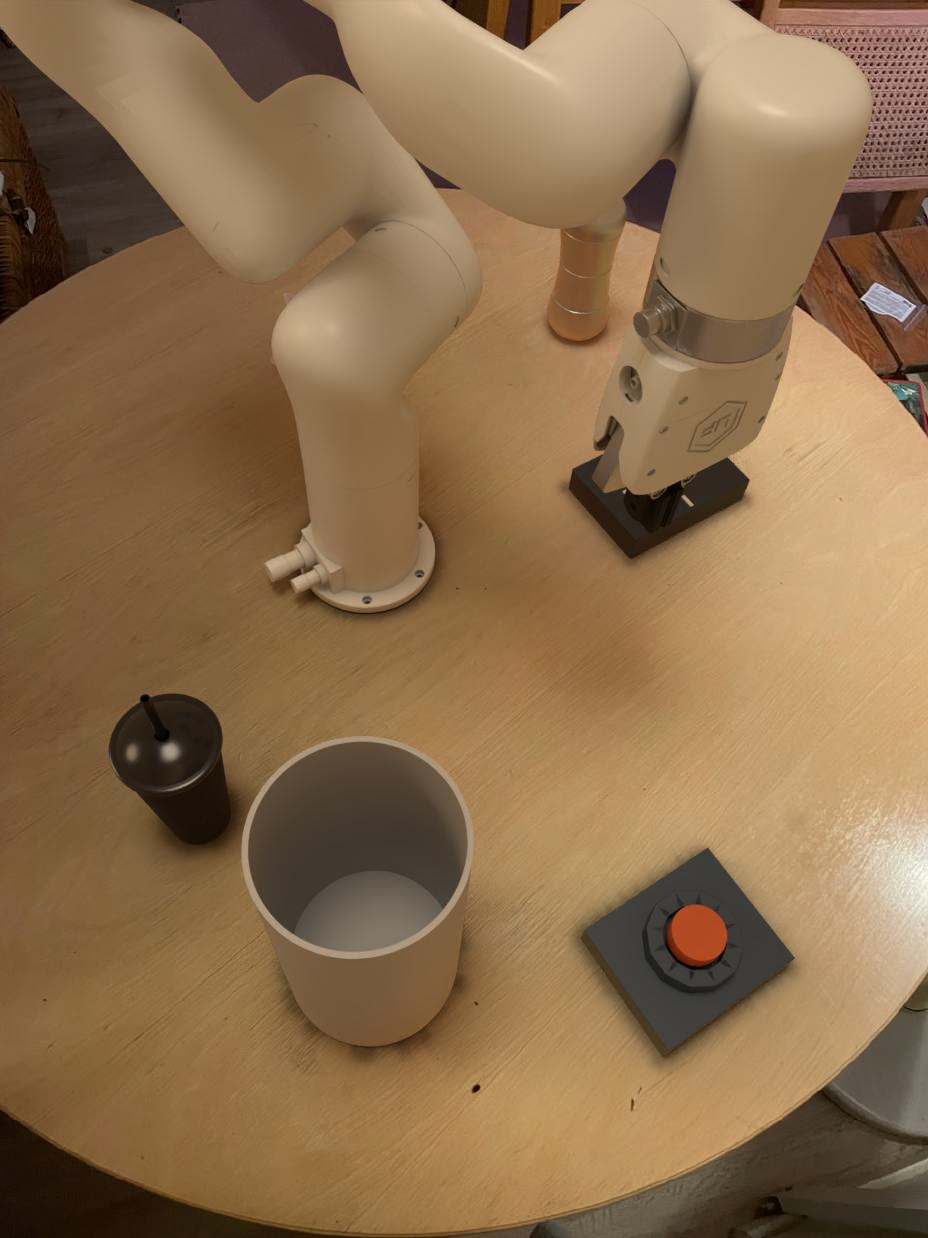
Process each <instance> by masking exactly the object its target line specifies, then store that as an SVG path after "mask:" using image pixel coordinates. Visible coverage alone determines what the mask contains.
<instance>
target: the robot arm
mask: <svg viewBox="0 0 928 1238" xmlns="http://www.w3.org/2000/svg"><path fill="white" fill-rule="evenodd" d="M302 1H303V2H305V3H306V4H309V5H310V6H312V7H313V8H315V9H317V10H318V11H320V12H321V13H322V14H324V15H326V16H327V17H329V18H330V20H332V21H333V22H334V25H335V28H336V31H337V35H338V38H339V42H340V45H341V49H342V51H343V55H344V58H345V61H346V63H347V65H348V67H349V69H350V71H351V74H352V76H353V78H354V80H355V82H356V84H357V85H358V88H359V89H360V91H359V90H358V89H356V88H355V87H354V86H352V85H351V84H349V83H348V82H346V81H344V80H341V79H339V78H337V77H334V76H331V75H326V74H308V75H303V76H300V77H297V78H295V79H293V80H291V81H288V82H287V83H285V84H284V85H282V86H281V87H279V88H278V89H276V90H275V91H274V92H273V93H270V95H268V96H267V97H265V98H264V99H263V100H261V101H259V102H257V101H255V100H254V99H252V98H251V97H250V96H249V95H248V94H247V93H246V92H245V91H244V89H242V87H241V86H240V85H239V84H238V82H237V81H236V80H235V79H234V77H232V75H231V74H230V73H229V70H228V69H227V68H226V67H225V66H224V64H223V63H222V61H221V60H220V58H219V57H218V55H217V54H216V53H215V52H214V51H213V49H212V48H211V47H210V46H209V45H208V44H207V43H206V42H205V41H204V40H203V39H202V38H201V37H200V36H198V35H197V34H195V33H194V32H192V31H191V30H190V29H188V28H187V27H186V26H184V25H183V24H181V23H180V22H177V21H176V20H174V19H173V18H172V17H170V16H168V15H166V14H164V13H163V12H160V11H159V10H156V9H154V8H151V7H149V6H146V5H144V4H141V3H138V2H135V1H133V0H0V28H1V30H3V32H4V33H5V35H7V38H9V40H10V41H11V42H12V43H13V44H14V45H15V46H16V47H17V48H18V50H19V51H20V52H21V53H23V55H24V56H25V57H26V58H27V59H28V60H29V61H30V62H31V63H32V64H33V65H35V66H36V67H37V68H38V69H39V70H40V71H41V73H43V75H45V76H47V78H49V79H50V80H51V81H52V82H54V84H55V85H57V86H58V87H60V89H61V90H63V91H64V92H66V94H68V95H69V96H70V97H71V98H72V99H74V100H75V101H76V102H77V103H78V104H79V105H80V106H81V107H83V108H84V109H85V110H86V111H87V112H88V113H89V114H90V115H91V116H93V118H94V119H95V120H97V121H98V122H99V123H100V124H101V126H103V128H105V130H106V131H107V132H108V133H109V134H110V135H111V136H112V138H113V139H115V141H116V142H117V143H118V145H119V146H120V147H121V149H122V150H123V151H124V153H126V155H127V156H128V158H129V159H130V160H131V161H132V162H133V164H134V165H135V166H136V167H137V169H138V170H139V171H140V172H141V174H142V175H143V176H144V178H145V179H146V180H147V181H148V182H149V183H150V185H151V186H152V187H153V189H154V190H155V191H156V192H157V194H159V196H160V197H161V198H162V200H163V201H164V202H165V203H166V205H168V207H169V208H170V209H171V211H172V212H173V213H174V214H175V215H176V217H177V218H178V219H179V220H180V221H181V223H182V224H183V225H184V227H186V229H187V230H188V231H189V232H190V234H191V236H193V237H194V239H195V240H196V241H197V242H198V243H199V244H200V246H201V247H202V248H203V249H204V250H205V251H206V253H207V254H208V255H209V256H210V257H211V258H212V259H213V260H214V261H215V263H216V264H218V266H219V267H221V269H223V270H224V271H225V272H226V273H228V274H229V276H232V277H233V278H235V280H236V279H237V280H238V281H240V282H242V283H246V284H251V285H259V284H264V283H268V282H270V281H273V280H275V279H277V278H279V277H280V276H282V275H284V274H286V273H287V272H289V271H290V270H291V269H293V268H294V267H296V266H297V265H298V264H300V262H302V261H303V260H304V259H305V258H306V257H308V256H309V255H310V254H311V253H313V252H314V251H315V250H316V249H317V248H319V247H320V246H321V245H322V244H323V243H324V242H326V241H327V240H328V239H330V238H331V237H332V236H333V235H334V234H335V233H337V231H339V230H340V229H341V228H343V229H344V230H345V231H346V233H347V234H348V235H349V236H350V237H351V238H352V239H353V241H354V243H353V244H352V245H351V246H349V247H348V248H347V249H346V250H345V251H344V252H343V253H341V254H339V255H338V256H336V257H335V258H334V259H333V260H332V261H331V262H330V263H328V265H326V266H325V267H324V268H323V269H321V270H320V271H319V272H318V273H317V274H316V275H315V276H314V277H312V278H311V279H310V280H309V281H308V282H307V283H305V285H304V286H303V287H302V288H301V289H300V290H299V291H297V292H296V293H295V296H294V297H293V298H292V299H291V300H290V302H289V303H288V304H287V305H285V307H284V308H283V309H282V311H281V313H280V314H279V316H278V318H277V320H276V321H275V324H274V326H273V330H272V335H271V342H270V347H271V353H272V355H273V358H274V362H275V364H276V365H275V366H276V369H277V372H278V374H279V377H280V379H281V381H282V384H283V386H284V388H285V390H286V394H287V396H288V398H289V401H290V404H291V408H292V411H293V415H294V419H295V425H296V431H297V437H298V442H299V444H298V445H299V448H300V450H299V451H300V455H301V462H302V469H303V476H304V482H305V489H306V491H305V492H306V495H307V496H306V497H307V503H308V511H309V519H310V522H309V524H308V525H307V526H306V527H304V528H302V529H301V538H300V540H299V543H297V544H294V545H293V550H291V551H288V552H286V553H284V554H279V555H278V556H275V557H274V558H271V559H269V560H267V561H265V562H263V567H264V570H265V572H266V575H267V576H268V578H269V580H270V581H271V582H272V583H275V582H278V581H280V580H282V579H284V578H286V577H288V576H290V575H292V574H293V573H294V572H296V571H298V570H300V572H301V574H300V575H298V576H296V577H294V578H291V579H290V580H289V582H290V585H291V588H292V589H293V591H294V592H295V594H297V595H298V594H300V593H303V592H304V591H306V590H309V589H310V590H311V591H312V592H313V593H314V594H315V595H316V596H317V597H318V598H319V599H320V600H321V601H323V602H325V603H327V604H329V605H330V606H332V607H335V608H338V609H340V610H343V611H348V612H353V613H359V614H360V613H361V614H362V613H366V614H368V613H369V614H371V613H378V612H384V611H385V612H386V611H388V610H391V609H395V608H397V607H399V606H401V605H403V604H406V603H407V602H409V601H410V600H412V599H413V598H414V597H416V596H417V595H418V594H419V593H420V592H421V591H422V590H423V589H424V587H426V585H427V583H428V582H429V580H430V579H431V576H432V574H433V571H434V568H435V563H436V543H435V540H434V537H433V534H432V531H431V530H430V528H429V526H428V524H427V523H426V522H425V520H423V518H422V517H421V516H420V515H419V514H420V513H419V512H420V511H419V509H420V508H419V504H420V503H419V494H420V493H419V492H420V491H419V490H420V489H419V488H420V487H419V486H420V485H419V484H420V483H419V482H420V481H419V480H420V479H419V477H420V475H419V474H420V471H419V470H420V468H419V467H420V431H419V430H420V429H419V420H418V416H417V413H416V410H415V407H414V406H413V404H412V402H411V401H410V400H409V399H408V398H407V397H406V396H405V395H404V394H403V392H404V390H405V389H406V386H407V385H408V383H409V382H410V380H411V379H412V378H413V376H414V375H415V374H416V373H417V372H418V371H419V370H420V369H421V368H422V367H423V366H424V365H425V363H427V362H428V361H429V359H430V358H431V356H432V355H434V353H435V352H436V351H437V350H438V349H439V348H440V347H441V346H442V345H443V344H444V343H445V342H446V341H447V340H448V339H449V338H450V337H451V336H452V335H453V334H454V333H455V331H457V330H458V328H460V327H461V326H462V325H463V323H465V322H466V321H467V319H468V318H469V317H470V315H471V314H472V313H473V312H474V311H475V308H476V307H477V305H478V303H479V301H480V298H481V297H482V292H483V286H484V285H483V284H484V277H483V270H482V266H481V262H480V259H479V256H478V254H477V251H476V249H475V247H474V244H473V243H472V241H471V239H470V238H469V236H468V234H467V233H466V231H465V229H464V228H463V227H462V225H461V224H460V222H459V220H458V219H457V218H456V216H455V215H454V213H453V211H452V210H451V208H450V207H449V206H448V204H447V203H446V201H445V200H444V198H442V196H441V194H440V193H439V191H438V190H437V189H436V187H435V186H434V185H433V182H431V180H430V179H429V177H428V176H427V175H426V173H425V171H424V170H423V168H422V167H421V166H420V164H422V165H423V166H424V167H426V168H427V169H428V170H430V171H432V172H434V173H435V174H437V175H438V176H440V177H442V178H443V179H444V180H447V181H448V182H450V183H451V184H452V185H454V186H456V187H457V188H459V189H461V190H462V191H464V192H465V193H467V194H468V195H469V196H472V197H473V198H475V199H477V200H478V201H479V202H482V203H483V204H485V205H488V207H490V208H492V209H494V210H497V211H499V212H500V213H503V214H504V215H506V216H507V217H512V218H513V219H516V220H518V221H520V222H523V223H525V224H529V225H532V226H536V227H540V228H545V229H552V230H556V229H557V230H560V229H565V228H574V227H578V226H581V225H584V224H587V223H590V222H592V221H594V220H596V219H598V218H599V217H601V216H602V215H604V214H605V213H607V212H608V211H609V210H610V209H611V208H613V207H614V206H615V205H616V204H617V203H618V202H619V201H620V200H621V199H622V198H623V199H624V197H625V196H626V195H627V194H628V193H629V192H630V191H631V190H633V188H634V187H635V186H636V185H637V184H638V183H639V182H640V180H642V178H644V176H645V175H647V173H648V172H649V171H650V170H651V169H652V168H653V167H654V166H655V165H656V164H657V163H658V162H659V161H661V160H670V161H671V162H672V163H673V164H674V168H675V170H676V171H675V175H674V178H673V182H672V187H671V190H670V193H669V198H668V202H667V205H666V210H665V213H664V217H663V221H662V225H661V229H660V233H659V236H658V240H657V244H656V249H655V253H654V256H653V260H652V264H651V268H650V272H649V275H648V278H647V279H648V281H647V283H646V288H645V292H644V294H643V299H642V303H641V310H640V311H637V312H636V313H635V314H634V315H633V318H632V319H633V321H632V324H631V326H630V327H629V330H628V332H627V334H626V336H625V338H624V340H623V343H622V345H621V347H620V350H619V352H618V354H617V356H616V359H615V361H614V364H613V367H612V369H611V372H610V375H609V377H608V380H607V382H606V386H605V389H604V392H603V395H602V398H601V401H600V404H599V407H598V412H597V415H596V419H595V424H594V430H593V438H592V440H593V441H592V447H593V450H594V451H596V452H602V451H603V452H602V454H603V455H602V454H601V455H602V457H601V459H600V461H599V463H598V465H597V467H596V469H595V471H594V473H593V476H592V479H593V480H594V482H595V483H596V484H597V485H598V486H599V487H600V489H601V490H602V491H603V492H604V493H608V492H611V491H615V490H618V489H621V488H624V487H625V486H626V487H627V489H626V493H625V496H624V500H623V501H624V504H625V508H626V510H627V512H628V513H629V515H630V516H631V517H632V518H633V519H634V520H635V521H639V522H640V524H641V525H642V526H643V527H644V528H645V529H646V531H647V532H648V533H650V534H652V533H654V532H656V531H658V529H659V527H665V526H667V525H669V524H671V522H672V519H673V517H674V514H675V511H676V509H677V506H678V503H679V501H680V498H681V495H682V493H683V490H684V488H683V487H682V486H681V485H682V484H683V485H684V484H686V483H688V482H690V481H691V480H692V479H693V478H694V477H695V475H696V473H697V472H699V471H701V470H703V469H705V468H707V467H709V466H711V465H713V464H715V463H717V462H719V461H721V460H723V459H725V458H727V457H728V458H729V457H730V456H733V455H734V454H736V453H738V452H740V451H742V450H743V449H745V448H746V447H748V446H749V445H751V444H752V443H753V442H754V441H755V440H756V439H757V438H758V436H759V434H760V433H761V430H762V429H763V427H764V425H765V422H766V419H767V416H768V414H769V412H770V409H771V407H772V405H773V402H774V399H775V396H776V393H777V391H778V388H779V385H780V382H781V379H782V375H783V373H784V369H785V366H786V362H787V359H788V354H789V351H790V345H791V340H792V333H793V324H794V323H793V322H794V319H793V318H794V317H793V311H794V309H795V307H796V305H797V302H798V300H799V297H800V296H801V293H802V290H803V288H804V285H805V283H806V280H807V278H808V276H809V274H810V271H811V269H812V266H813V263H814V261H815V259H816V256H817V254H818V251H819V249H820V247H821V244H822V242H823V239H824V237H825V235H826V232H827V230H828V227H829V225H830V223H831V221H832V218H833V216H834V213H835V211H836V208H837V207H838V203H839V201H840V199H841V197H842V195H843V192H844V190H845V187H846V185H847V182H848V180H849V178H850V175H851V173H852V171H853V169H854V166H855V163H856V161H857V160H858V156H859V154H860V151H861V149H862V147H863V144H864V142H865V139H866V137H867V133H868V131H869V128H870V126H871V123H872V116H873V95H872V90H871V86H870V84H869V81H868V78H867V77H866V76H865V73H864V72H863V71H862V70H861V69H860V67H859V66H858V65H857V63H855V62H854V61H853V60H852V59H851V58H850V57H848V56H847V55H846V54H845V53H843V52H842V51H840V50H838V49H837V48H835V47H833V46H830V45H829V44H826V43H824V42H821V41H819V40H817V39H813V38H810V37H806V36H802V35H801V36H800V35H796V34H795V35H794V34H787V33H778V31H775V30H774V29H772V28H770V26H768V25H766V24H764V23H762V22H761V21H759V20H758V19H757V18H755V17H754V16H752V15H751V14H750V13H748V12H747V11H745V10H743V9H742V8H740V6H738V5H736V4H735V3H734V2H732V1H731V0H584V1H583V2H582V3H580V4H579V5H577V6H576V7H575V8H573V9H572V10H570V11H569V12H567V13H566V14H565V15H564V16H563V17H561V18H560V19H559V20H557V22H555V23H554V24H553V25H552V26H551V27H549V28H548V29H547V30H546V31H544V32H543V33H542V34H541V35H539V37H537V38H536V39H535V40H534V41H532V42H531V43H530V44H529V45H528V46H526V47H525V48H524V49H521V48H519V47H517V46H515V45H513V44H511V43H509V42H507V41H506V40H504V39H502V38H500V37H499V36H497V35H496V34H494V33H492V32H491V31H489V30H487V29H485V28H483V27H482V26H480V25H478V24H477V23H476V22H474V21H472V20H471V19H469V18H467V17H466V16H464V15H462V14H460V13H459V12H458V11H457V10H455V9H454V8H453V7H451V6H449V5H448V4H447V3H445V2H444V1H443V0H302ZM418 162H419V163H420V164H419V163H418Z"/></svg>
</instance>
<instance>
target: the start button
mask: <svg viewBox="0 0 928 1238" xmlns="http://www.w3.org/2000/svg"><path fill="white" fill-rule="evenodd" d="M667 942H668V946H669V948H670V950H671V952H672V953H673V955H674V956H675V957H676V958H677V959H678V960H680V961H681V962H683V963H684V964H687V965H689V966H694V967H701V966H706V965H708V964H710V963H712V962H713V961H714V960H715V959H716V958H717V957H718V956H719V955H720V954H721V953H722V951H723V950H724V948H725V946H726V943H727V930H726V927H725V924H724V922H723V920H722V919H721V917H720V916H719V915H718V914H717V913H716V912H715V911H713V910H712V909H710V908H708V907H706V906H702V905H689V906H686V907H684V908H682V909H681V910H679V911H678V912H677V913H676V915H675V916H674V918H673V919H672V920H671V922H670V923H669V926H668V929H667Z"/></svg>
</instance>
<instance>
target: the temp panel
mask: <svg viewBox="0 0 928 1238" xmlns="http://www.w3.org/2000/svg"><path fill="white" fill-rule="evenodd" d="M602 455H603V453H602V454H600V455H598V456H596V457H593V458H592V459H590V460H588V461H586V462H584V463H582V464H580V465H577V466H575V467H573V468H572V470H571V474H570V480H569V485H568V490H569V491H570V492H571V493H572V494H573V496H575V498H576V499H577V500H578V501H579V502H580V503H581V505H582V506H583V507H584V508H585V509H586V511H587V512H588V513H589V514H590V515H591V516H592V517H593V518H594V519H595V521H596V522H597V523H598V524H599V525H600V526H601V527H602V528H603V530H604V531H605V532H606V533H607V535H609V537H610V538H611V539H613V541H614V542H615V543H616V545H618V547H619V549H621V550H622V552H624V554H625V555H626V556H627V557H628V558H629V559H630V560H631V559H633V558H635V557H637V556H639V555H641V554H643V553H644V552H646V551H648V550H650V549H652V548H654V547H656V546H658V545H659V544H661V543H664V542H665V541H667V540H669V539H671V538H672V537H674V536H676V535H678V534H680V533H682V532H683V531H685V530H687V529H690V528H691V527H693V526H694V525H697V524H698V523H700V522H702V521H704V520H706V519H708V518H710V517H712V516H713V515H715V514H718V513H719V512H720V511H722V510H725V509H726V508H728V507H730V506H733V505H734V504H736V503H738V502H740V501H741V500H742V499H743V498H744V495H745V493H746V490H747V488H748V486H749V483H750V481H751V479H750V478H749V477H748V476H747V475H746V474H745V473H744V472H743V471H742V470H741V469H740V468H739V467H738V466H737V465H736V464H735V463H734V462H733V461H732V460H731V459H730V458H729V457H727V458H725V459H723V460H721V461H719V462H717V463H715V464H713V465H711V466H709V467H707V468H705V469H703V470H701V471H699V472H697V473H696V475H695V477H694V478H693V479H692V480H691V481H690V482H688V483H686V484H685V487H684V490H683V493H682V495H681V498H680V501H679V503H678V506H677V509H676V511H675V514H674V517H673V519H672V522H671V524H669V525H667V526H665V527H659V529H658V531H656V532H654V533H652V534H650V533H648V532H647V531H646V529H645V528H644V527H643V526H642V525H641V524H640V522H639V521H635V520H634V519H633V518H632V517H631V516H630V515H629V513H628V512H627V510H626V508H625V504H624V501H623V500H624V496H625V493H626V489H627V487H626V486H625V487H624V488H621V489H618V490H615V491H611V492H608V493H604V492H603V491H602V490H601V489H600V487H599V486H598V485H597V484H596V483H595V482H594V480H593V479H592V476H593V473H594V471H595V469H596V467H597V465H598V463H599V461H600V459H601V457H602Z"/></svg>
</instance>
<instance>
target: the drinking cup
mask: <svg viewBox="0 0 928 1238" xmlns="http://www.w3.org/2000/svg"><path fill="white" fill-rule="evenodd" d="M223 744H224V734H223V728H222V726H221V722H220V720H219V718H218V716H217V714H216V713H215V712H214V711H213V709H212V708H211V707H210V706H209V705H208V704H207V703H205V702H203V701H202V700H200V699H199V698H196V697H194V696H190V695H188V694H184V693H177V692H176V693H174V692H172V693H161V694H157V695H153V696H150V695H149V694H147V693H144V694H141V695H140V696H139V702H137V703H136V704H135V705H133V706H132V707H130V708H129V709H128V710H126V712H125V713H124V714H123V715H122V716H121V718H119V720H118V721H117V723H116V724H115V726H114V728H113V731H112V732H111V735H110V739H109V743H108V759H109V763H110V767H111V768H112V771H113V773H114V774H115V776H116V778H117V779H118V780H119V782H121V783H122V785H124V786H125V787H127V788H129V789H130V790H132V791H133V792H135V793H136V794H137V795H138V796H139V797H140V799H141V800H142V801H143V802H144V803H145V804H146V805H147V806H148V807H149V808H150V809H151V810H152V812H153V813H154V814H155V815H156V816H157V817H158V818H159V819H160V820H161V822H162V823H163V824H164V825H165V826H166V827H167V829H169V830H170V832H171V833H172V834H173V835H174V836H175V837H176V838H177V839H178V840H180V841H181V842H183V843H185V844H189V845H204V844H208V843H210V842H212V841H214V840H216V839H217V838H218V837H220V836H222V834H223V833H224V832H225V830H226V829H227V827H228V825H229V823H230V820H231V815H232V810H231V804H230V797H229V789H228V784H227V778H226V777H227V776H226V772H225V765H224V758H223Z"/></svg>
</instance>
